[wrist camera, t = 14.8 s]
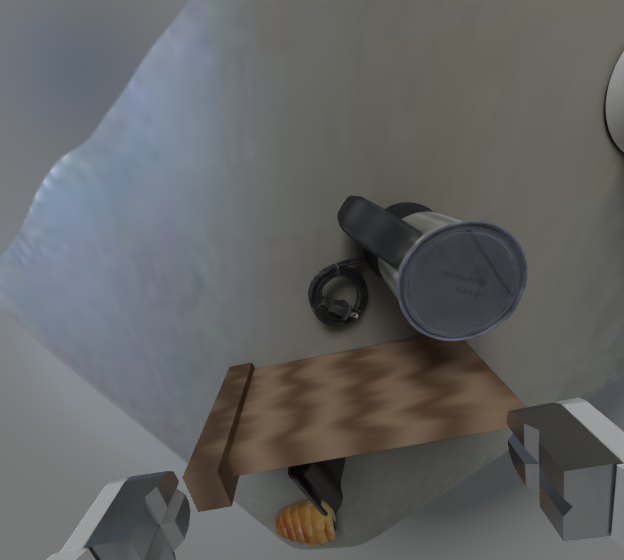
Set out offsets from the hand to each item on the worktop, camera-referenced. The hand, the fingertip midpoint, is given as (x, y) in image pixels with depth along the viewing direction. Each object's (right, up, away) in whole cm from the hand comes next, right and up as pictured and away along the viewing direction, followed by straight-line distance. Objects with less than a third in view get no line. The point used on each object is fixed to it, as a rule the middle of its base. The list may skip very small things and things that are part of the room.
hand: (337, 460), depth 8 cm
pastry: (-1, -32, +42) cm, 53 cm away
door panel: (+3, -6, +34) cm, 34 cm away
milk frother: (+7, +6, +30) cm, 31 cm away
